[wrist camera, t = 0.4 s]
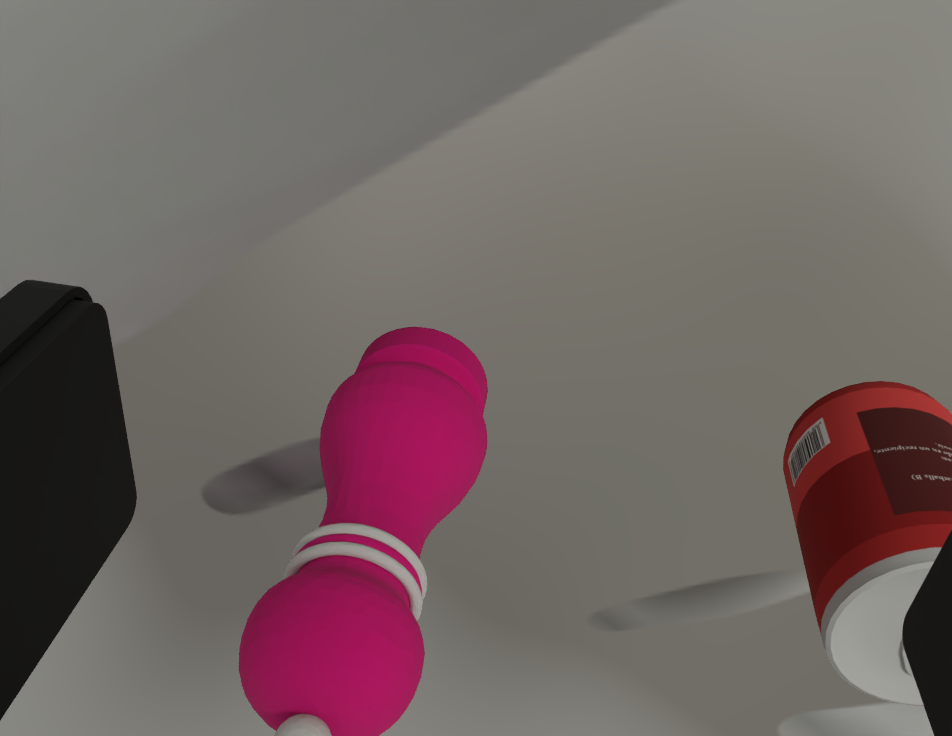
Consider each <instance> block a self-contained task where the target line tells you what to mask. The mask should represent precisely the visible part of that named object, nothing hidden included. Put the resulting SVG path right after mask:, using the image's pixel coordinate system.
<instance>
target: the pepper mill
mask: <svg viewBox="0 0 952 736" xmlns="http://www.w3.org/2000/svg"><path fill="white" fill-rule="evenodd" d="M487 392H488V388H487V379H486V375H485V372H484V369H483V367H482V365H481V363H480V361H479V360H478V359H477V357H476V356H475V354H474V353H473V352H472V351H471V350H470V349H469V348H468V347H467V346H466V345H464V344H463V343H462V342H460V341H459V340H457V339H456V338H454V337H452V336H450V335H448V334H446V333H443V332H440V331H437V330H435V329H429V328H422V327H407V328H401V329H396V330H393V331H390V332H388V333H386V334H384V335H382V336H380V337H379V338H377V339H376V340H375V341H374V342H372V343H371V345H370V346H369V347H368V348H367V349H366V351H365V353H364V354H363V356H362V358H361V361H360V363H359V365H358V367H357V369H356V372H355V374H354V375H352V376H350V377H349V378H348V379H347V380H345V381H344V382H343V383H342V384H341V385H340V386H339V388H338V389H337V391H336V392H335V393H334V395H333V396H332V398H331V400H330V402H329V404H328V407H327V410H326V413H325V417H324V420H323V424H322V427H321V437H320V456H321V466H322V471H323V476H324V481H325V486H326V491H327V508H326V511H325V514H324V517H323V520H322V522H321V524H320V526H319V528H317V529H314V530H312V531H311V532H310V533H308V534H306V535H305V536H304V537H303V538H302V539H301V540H300V541H299V542H298V544H297V545H296V547H295V548H294V551H293V555H292V558H291V561H290V562H289V564H288V566H287V568H286V570H285V573H284V577H283V580H282V581H281V582H279V583H278V584H276V585H275V586H273V587H272V588H270V589H269V590H268V591H267V592H266V593H265V594H264V595H263V596H262V598H261V599H260V600H259V601H258V602H257V604H256V605H255V607H254V609H253V611H252V612H251V614H250V616H249V618H248V620H247V623H246V626H245V629H244V632H243V635H242V638H241V644H240V652H239V673H240V677H241V682H242V686H243V689H244V692H245V695H246V697H247V699H248V701H249V702H250V704H251V705H252V707H253V709H254V710H255V711H256V712H257V713H258V715H259V716H260V717H261V718H262V719H263V720H264V721H265V722H266V723H267V724H268V725H269V726H270V727H271V728H273V729H274V730H276V733H275V736H379V735H380V734H382V733H383V732H385V730H387V729H389V728H390V727H391V726H392V725H393V724H394V723H395V722H396V721H397V720H398V719H399V718H400V717H401V715H402V714H403V713H404V712H405V710H406V709H407V707H408V705H409V704H410V702H411V700H412V699H413V697H414V695H415V691H416V689H417V686H418V684H419V681H420V678H421V674H422V668H423V662H424V654H425V653H424V645H423V638H422V634H421V631H420V627H419V625H418V623H417V621H418V619H419V617H420V615H421V611H422V605H423V603H422V601H423V599H424V597H425V595H426V590H427V578H426V572H425V570H424V567H423V565H422V563H421V561H420V554H421V551H422V547H423V545H424V542H425V539H426V538H427V536H428V535H429V533H430V532H431V530H432V529H433V528H434V527H435V526H436V525H437V524H438V523H439V522H440V521H441V520H442V519H443V518H444V517H446V515H448V514H449V513H450V512H451V511H452V510H453V509H454V508H455V507H456V506H457V505H459V504H460V502H461V501H462V499H463V498H464V497H465V496H466V494H467V493H468V491H469V490H470V488H471V487H472V486H473V484H474V483H475V481H476V479H477V477H478V475H479V472H480V469H481V467H482V463H483V461H484V458H485V455H486V449H487V431H486V424H485V421H484V418H483V412H484V407H485V403H486V398H487Z"/></svg>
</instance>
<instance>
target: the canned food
mask: <svg viewBox="0 0 952 736" xmlns="http://www.w3.org/2000/svg"><path fill="white" fill-rule="evenodd" d="M783 470H784V475H785V479H786V484H787V488H788V493H789V497H790V501H791V506H792V511H793V515H794V520H795V523H796V528H797V533H798V538H799V542H800V546H801V551H802V555H803V560H804V565H805V569H806V573H807V578H808V582H809V587H810V591H811V596H812V600H813V605H814V609H815V613H816V617H817V621H818V625H819V628H820V633H821V637H822V641H823V645H824V648H825V650H826V651H827V655H828V658H829V661H830V662H831V664H832V666H833V667H834V669H835V671H836V672H837V673H838V674H839V675H840V676H841V677H842V678H843V679H844V680H845V681H846V682H847V683H849V684H850V685H852V686H853V687H855V688H856V689H858V690H859V691H861V692H863V693H866V694H868V695H870V696H873V697H875V698H878V699H882V700H885V701H889V702H893V703H899V704H907V705H914V706H924V705H923V702H922V699H921V696H920V693H919V690H918V687H917V685H916V682H915V679H914V676H913V673H912V670H911V667H910V665H909V662H908V659H907V656H906V653H905V650H904V646H903V638H902V630H903V623H904V618H905V616H906V613H907V611H908V609H909V607H910V606H911V604H912V602H913V600H914V598H915V596H916V594H917V593H918V591H919V589H920V587H921V585H922V583H923V582H924V580H925V578H926V576H927V574H928V572H929V570H930V569H931V567H932V565H933V563H934V561H935V559H936V558H937V556H938V554H939V552H940V550H941V548H942V546H943V545H944V543H945V541H946V539H947V537H948V535H949V534H950V532H951V530H952V415H951V413H950V412H949V411H948V410H947V409H946V408H945V407H943V406H942V405H941V404H940V403H938V402H937V401H936V400H935V399H933V398H932V397H931V396H929V395H928V394H926V393H924V392H922V391H920V390H918V389H916V388H914V387H911V386H908V385H904V384H900V383H894V382H883V381H879V382H864V383H860V384H855V385H850V386H847V387H844V388H841V389H839V390H836V391H834V392H831V393H830V394H828V395H826V396H824V397H823V398H821V399H819V400H818V401H816V402H815V403H814V404H813V405H812V406H810V407H809V408H808V409H807V410H805V412H804V413H803V414H802V416H800V418H799V419H798V420H797V421H796V423H795V425H794V426H793V428H792V430H791V432H790V434H789V438H788V442H787V445H786V449H785V453H784V466H783Z"/></svg>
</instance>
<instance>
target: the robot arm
mask: <svg viewBox="0 0 952 736" xmlns="http://www.w3.org/2000/svg"><path fill="white" fill-rule="evenodd" d="M136 499H137V496H136V487H135V481H134V475H133V469H132V463H131V457H130V451H129V445H128V439H127V433H126V427H125V421H124V415H123V409H122V403H121V397H120V391H119V385H118V379H117V373H116V366H115V360H114V354H113V348H112V342H111V336H110V330H109V324H108V318H107V315H106V311H105V309H104V308H103V306H102V305H100V304H98V303H93V301H92V298H91V296H90V295H89V293H88V292H87V291H86V290H85V289H83V288H82V287H77V286H70V285H63V284H56V283H49V282H42V281H35V280H25V281H23V282H22V283H20V284H18V285H17V286H16V287H14V288H13V289H12V290H11V291H9V292H8V293H7V294H6V295H5V296H3V297H2V298H1V299H0V720H1V718H2V717H3V715H4V714H5V712H6V711H7V709H8V708H9V706H10V705H11V703H12V702H13V700H14V699H15V697H16V695H17V694H18V693H19V691H20V690H21V688H22V686H23V685H24V684H25V682H26V681H27V679H28V678H29V676H30V675H31V673H32V672H33V670H34V668H35V667H36V665H37V664H38V662H39V661H40V659H41V658H42V656H43V655H44V653H45V652H46V650H47V649H48V647H49V646H50V644H51V643H52V641H53V640H54V638H55V637H56V635H57V634H58V632H59V631H60V629H61V627H62V626H63V624H64V623H65V622H66V620H67V618H68V617H69V615H70V614H71V612H72V611H73V609H74V608H75V606H76V605H77V603H78V602H79V600H80V598H81V597H82V596H83V594H84V593H85V591H86V590H87V588H88V587H89V585H90V584H91V582H92V580H93V579H94V578H95V576H96V575H97V573H98V571H99V570H100V568H101V567H102V565H103V564H104V562H105V561H106V559H107V558H108V556H109V555H110V553H111V552H112V550H113V549H114V547H115V546H116V544H117V543H118V541H119V540H120V538H121V537H122V535H123V534H124V532H125V531H126V529H127V528H128V525H129V524H130V522H131V520H132V517H133V515H134V511H135V507H136ZM902 638H903V646H904V650H905V653H906V656H907V659H908V662H909V665H910V667H911V670H912V673H913V676H914V679H915V682H916V685H917V687H918V690H919V693H920V696H921V699H922V702H923V705H924V707H925V710H926V713H927V716H928V719H929V722H930V724H931V727H932V730H933V733H934V736H952V530H951V532H950V534H949V535H948V537H947V539H946V541H945V543H944V545H943V546H942V548H941V550H940V552H939V554H938V556H937V558H936V559H935V561H934V563H933V565H932V567H931V569H930V570H929V572H928V574H927V576H926V578H925V580H924V582H923V583H922V585H921V587H920V589H919V591H918V593H917V594H916V596H915V598H914V600H913V602H912V604H911V606H910V607H909V609H908V611H907V613H906V616H905V618H904V623H903V630H902Z"/></svg>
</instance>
